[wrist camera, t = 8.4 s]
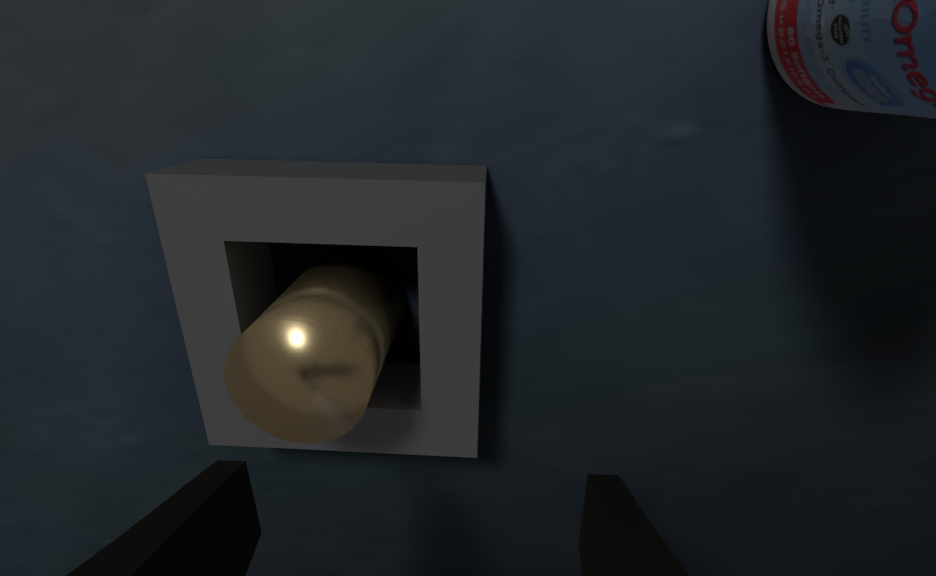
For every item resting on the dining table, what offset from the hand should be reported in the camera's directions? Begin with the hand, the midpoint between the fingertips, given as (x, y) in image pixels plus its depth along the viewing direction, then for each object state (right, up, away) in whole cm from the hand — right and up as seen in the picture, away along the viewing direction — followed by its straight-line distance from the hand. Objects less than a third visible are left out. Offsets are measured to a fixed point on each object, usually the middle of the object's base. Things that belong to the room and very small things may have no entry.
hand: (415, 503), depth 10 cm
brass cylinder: (-3, +4, +9) cm, 10 cm away
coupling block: (-3, +4, +9) cm, 10 cm away
